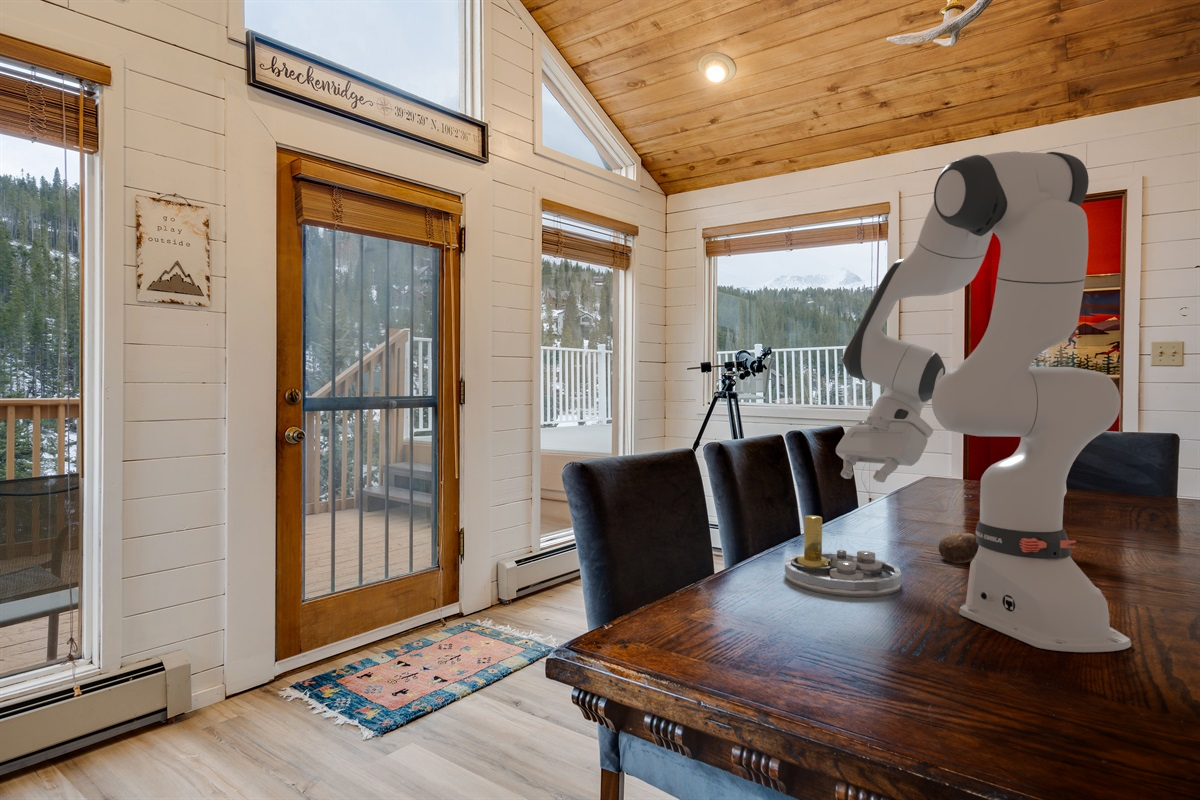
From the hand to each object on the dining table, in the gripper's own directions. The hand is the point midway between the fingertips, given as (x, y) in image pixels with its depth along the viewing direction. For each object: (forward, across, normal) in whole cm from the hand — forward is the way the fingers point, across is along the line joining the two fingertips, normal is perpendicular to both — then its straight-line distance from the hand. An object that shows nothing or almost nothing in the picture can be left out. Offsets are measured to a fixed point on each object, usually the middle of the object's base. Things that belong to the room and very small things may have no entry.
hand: (861, 478), depth 136 cm
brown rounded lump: (+2, +3, +28) cm, 28 cm away
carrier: (+21, +7, +1) cm, 22 cm away
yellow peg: (+21, +2, -2) cm, 21 cm away
